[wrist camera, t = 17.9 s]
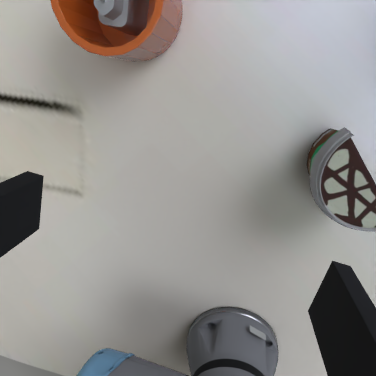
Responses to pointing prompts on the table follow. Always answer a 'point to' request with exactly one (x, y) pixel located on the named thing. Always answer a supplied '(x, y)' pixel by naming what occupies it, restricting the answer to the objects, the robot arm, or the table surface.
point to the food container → (342, 181)
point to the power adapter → (123, 14)
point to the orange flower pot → (114, 39)
